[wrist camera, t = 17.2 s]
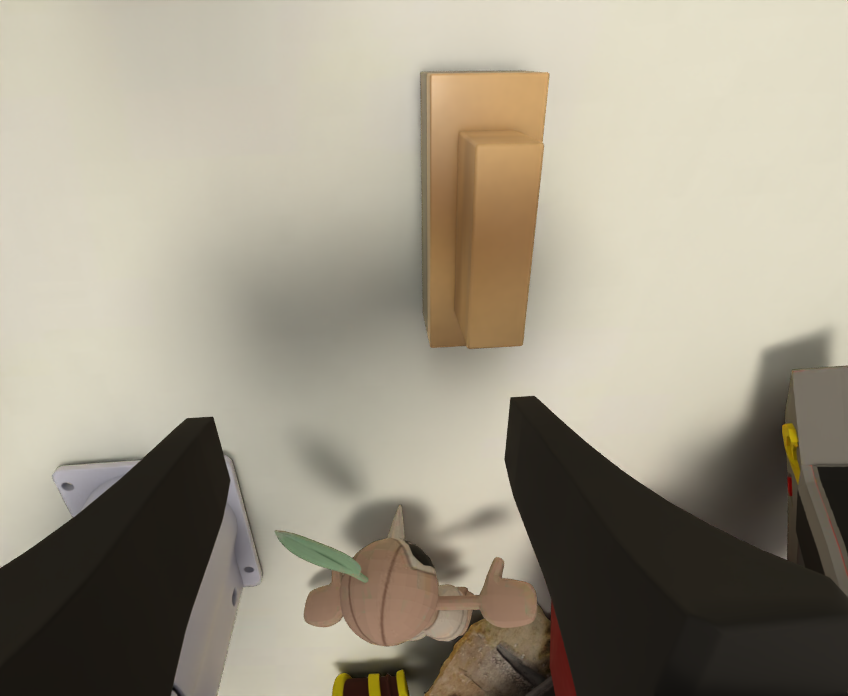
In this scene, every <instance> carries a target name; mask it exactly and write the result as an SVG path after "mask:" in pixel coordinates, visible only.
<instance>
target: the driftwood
mask: <svg viewBox="0 0 848 696" xmlns="http://www.w3.org/2000/svg"><path fill="white" fill-rule="evenodd" d="M550 634H551V621H550V620H549V619H548V618H546V616H545V614H544V612H543V611H542V609H541V607H540V606H538V605H537V616H536V617H535V619H534V621H533V622H531V623H530V624H527V625H524V626H520V627H513V628H501V627H497V626H495V625H493V624H491V623H489V622H488V621H487V620H486V619H485V618H484V619H482V620H480V621H478V622H476V623H474V624H472V625H470V627H469V629H468V631H467V632H466V633H465V635H464V636H463V637H462V638H461V639H460V640H459V641H457V642H456V644H455V645H454V648H453V651H452V652H451V654H450V656H449V657H448V658H447V659H446V660H445V661H444V663H443V666H442V667H441V669H440V673H439V675H438V676H437V678H436V679H435V681H434V684H433V685H432V686H431V687H430V689H429V690H428V691H427V693H426V692H424V693H425V695H424V696H525V695H526V694H527V693H529V692H530V691H532V690H533V689H534V688H535V687H537V686H538V685H540V684H541V683H542V682H544V681H545V680H546V679H547V678H549V677H550V676H551V671H550ZM441 665H442V664H441Z"/></svg>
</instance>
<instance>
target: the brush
mask: <svg viewBox="0 0 848 696" xmlns="http://www.w3.org/2000/svg"><path fill="white" fill-rule="evenodd" d="M548 84H549V73H548V72H534V71H432V72H421V73H420V85H421V190H422V295H423V317H424V321H425V326H426V330H427V334H428V339H429V344H430V347H431V348H437V347H455V346H467V348H469V349H477V348H495V347H512V346H522V345H523V340H524V330H525V321H526V311H527V302H528V293H529V283H530V274H531V264H532V255H533V246H534V236H535V227H536V217H537V208H538V198H539V189H540V180H541V170H542V161H543V151H544V144H543V143H542V141H543V132H544V122H545V113H546V103H547V93H548Z"/></svg>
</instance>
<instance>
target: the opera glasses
mask: <svg viewBox="0 0 848 696" xmlns="http://www.w3.org/2000/svg"><path fill="white" fill-rule="evenodd" d="M332 696H409V690H408V686H407V681H406V677H405V673H404V670H399V671H397V673H396V676H390V675H389V674H386V676H385V677H381V676H380V674H369V675H368V678H351V676H350V675H349V674H347V673H342V674H340V675H338V676H337V678H336V679H335V682H334V685H333V691H332Z"/></svg>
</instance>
